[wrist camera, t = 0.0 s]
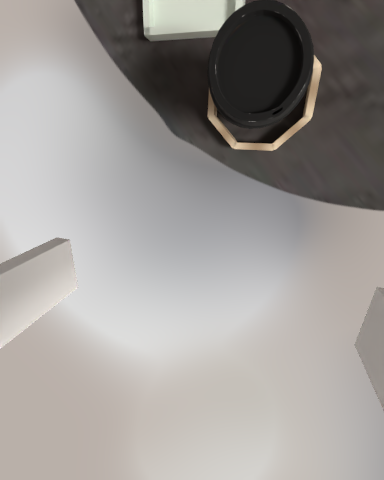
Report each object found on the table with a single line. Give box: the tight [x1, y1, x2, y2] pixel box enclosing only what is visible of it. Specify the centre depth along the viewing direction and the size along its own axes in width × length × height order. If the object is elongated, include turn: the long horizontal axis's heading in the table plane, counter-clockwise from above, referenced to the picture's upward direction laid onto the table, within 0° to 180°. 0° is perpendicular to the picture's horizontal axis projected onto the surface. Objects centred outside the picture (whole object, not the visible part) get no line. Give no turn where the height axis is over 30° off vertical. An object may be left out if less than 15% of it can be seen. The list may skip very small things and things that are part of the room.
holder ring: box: [208, 56, 322, 151], centre depth 30 cm, size 13×13×2 cm
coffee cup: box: [208, 0, 314, 129], centre depth 24 cm, size 8×8×15 cm
